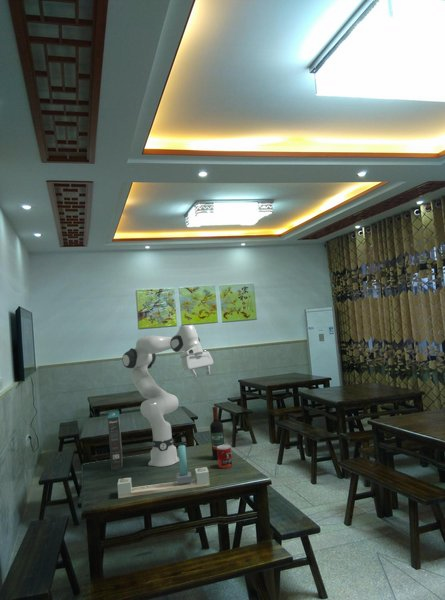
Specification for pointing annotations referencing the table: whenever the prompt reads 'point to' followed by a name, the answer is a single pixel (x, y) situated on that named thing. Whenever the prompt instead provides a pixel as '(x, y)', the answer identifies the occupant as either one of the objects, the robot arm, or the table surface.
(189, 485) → the rail board
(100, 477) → the table surface
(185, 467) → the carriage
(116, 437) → the cake mix box
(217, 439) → the wine bottle
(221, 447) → the canned food
